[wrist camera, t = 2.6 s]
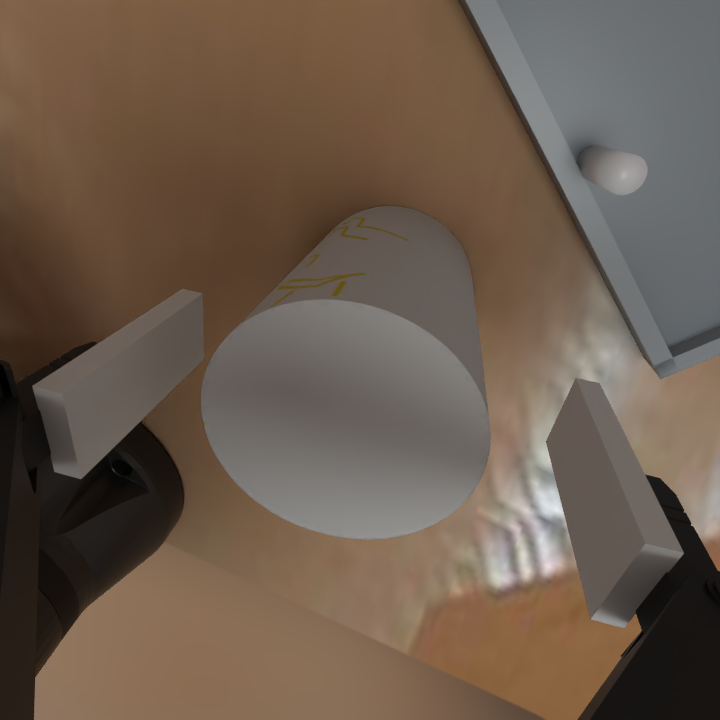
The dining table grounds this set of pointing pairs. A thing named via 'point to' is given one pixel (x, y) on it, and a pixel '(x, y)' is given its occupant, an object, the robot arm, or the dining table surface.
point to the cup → (357, 383)
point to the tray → (627, 148)
